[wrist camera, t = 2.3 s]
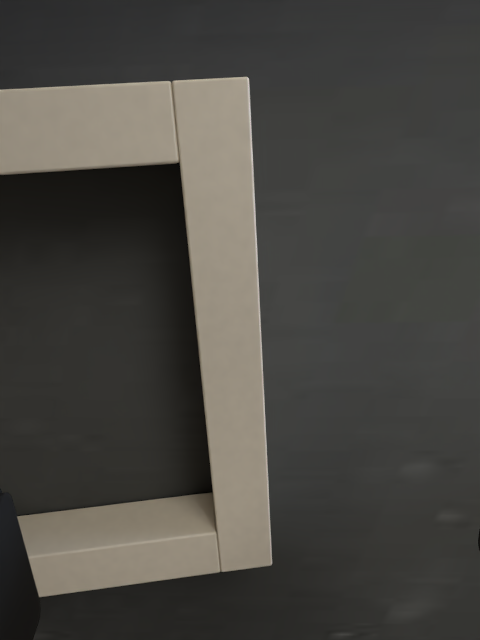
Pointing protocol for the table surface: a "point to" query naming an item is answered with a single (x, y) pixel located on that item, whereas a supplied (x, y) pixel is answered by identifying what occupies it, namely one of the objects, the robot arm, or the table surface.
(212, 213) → the white square frame
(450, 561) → the table surface
